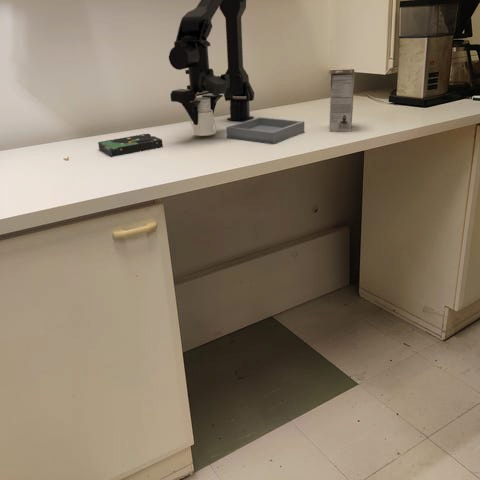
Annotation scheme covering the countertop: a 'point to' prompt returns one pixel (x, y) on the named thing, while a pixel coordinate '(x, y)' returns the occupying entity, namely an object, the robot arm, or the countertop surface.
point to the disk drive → (130, 145)
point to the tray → (265, 130)
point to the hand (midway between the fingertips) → (203, 122)
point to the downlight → (204, 118)
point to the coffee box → (341, 100)
